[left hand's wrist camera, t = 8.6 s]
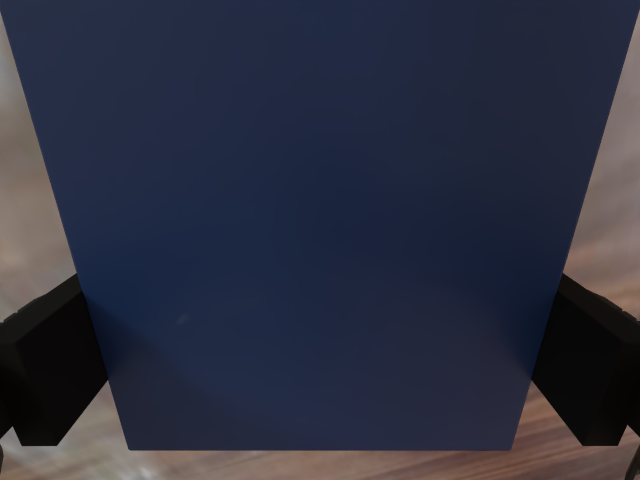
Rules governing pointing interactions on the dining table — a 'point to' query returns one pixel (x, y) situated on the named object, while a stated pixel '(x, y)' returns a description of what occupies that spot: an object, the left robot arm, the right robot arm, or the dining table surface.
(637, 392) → the left robot arm
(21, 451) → the dining table surface
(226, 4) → the cabinet
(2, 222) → the dining table surface
